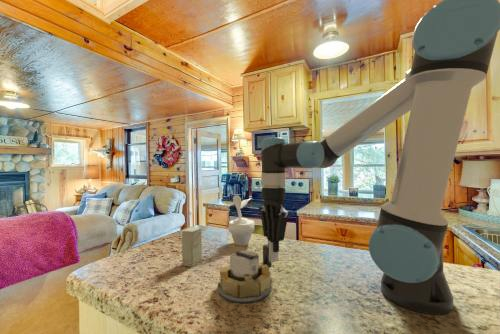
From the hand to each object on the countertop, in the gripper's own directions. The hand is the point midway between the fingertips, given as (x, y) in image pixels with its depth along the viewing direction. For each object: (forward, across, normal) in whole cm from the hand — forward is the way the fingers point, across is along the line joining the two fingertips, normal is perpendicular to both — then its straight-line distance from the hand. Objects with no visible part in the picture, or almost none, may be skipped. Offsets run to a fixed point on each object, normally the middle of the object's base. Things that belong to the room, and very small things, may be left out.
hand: (273, 261), depth 72 cm
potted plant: (+4, +31, -7) cm, 32 cm away
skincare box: (+5, +23, +18) cm, 30 cm away
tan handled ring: (+3, 0, +9) cm, 9 cm away
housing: (+4, -2, +12) cm, 13 cm away
